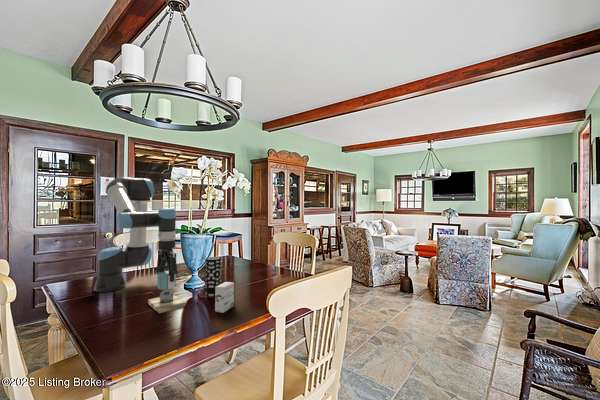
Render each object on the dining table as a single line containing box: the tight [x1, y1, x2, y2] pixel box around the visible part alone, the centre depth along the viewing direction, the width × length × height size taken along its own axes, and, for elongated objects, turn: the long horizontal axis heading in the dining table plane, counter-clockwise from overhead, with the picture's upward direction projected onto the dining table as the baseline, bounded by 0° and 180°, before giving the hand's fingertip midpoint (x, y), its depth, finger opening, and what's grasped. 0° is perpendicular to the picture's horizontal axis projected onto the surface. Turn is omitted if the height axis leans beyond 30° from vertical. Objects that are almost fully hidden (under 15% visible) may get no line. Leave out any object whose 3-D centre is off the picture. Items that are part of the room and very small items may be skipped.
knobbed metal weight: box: [159, 289, 174, 303], centre depth 135 cm, size 6×6×6 cm
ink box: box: [214, 281, 235, 314], centre depth 131 cm, size 9×5×12 cm, turn 158°
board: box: [147, 293, 186, 314], centre depth 135 cm, size 16×12×2 cm
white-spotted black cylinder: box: [204, 256, 222, 299], centre depth 149 cm, size 8×8×20 cm
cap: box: [157, 270, 177, 291], centre depth 135 cm, size 8×8×7 cm
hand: (166, 286), depth 135 cm, fingers closed on cap, 8 cm apart
